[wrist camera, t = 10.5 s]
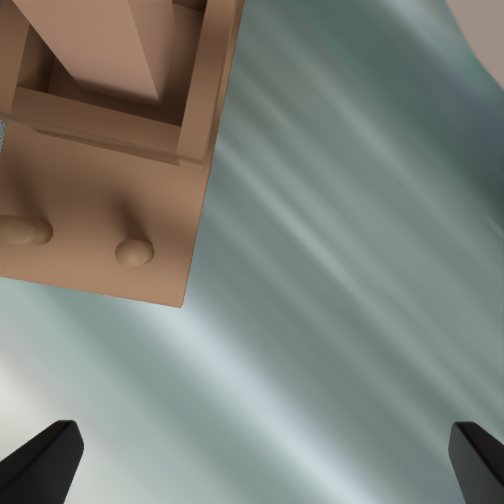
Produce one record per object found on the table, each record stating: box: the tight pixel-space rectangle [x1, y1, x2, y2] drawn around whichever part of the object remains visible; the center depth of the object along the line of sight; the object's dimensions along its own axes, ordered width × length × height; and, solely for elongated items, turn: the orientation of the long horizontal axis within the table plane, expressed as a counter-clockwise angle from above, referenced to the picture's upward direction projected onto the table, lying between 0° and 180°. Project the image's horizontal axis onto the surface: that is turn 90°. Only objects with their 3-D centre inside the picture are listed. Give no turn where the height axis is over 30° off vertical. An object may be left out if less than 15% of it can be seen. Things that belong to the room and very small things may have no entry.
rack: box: [0, 0, 244, 308], centre depth 16 cm, size 20×10×4 cm, turn 168°
